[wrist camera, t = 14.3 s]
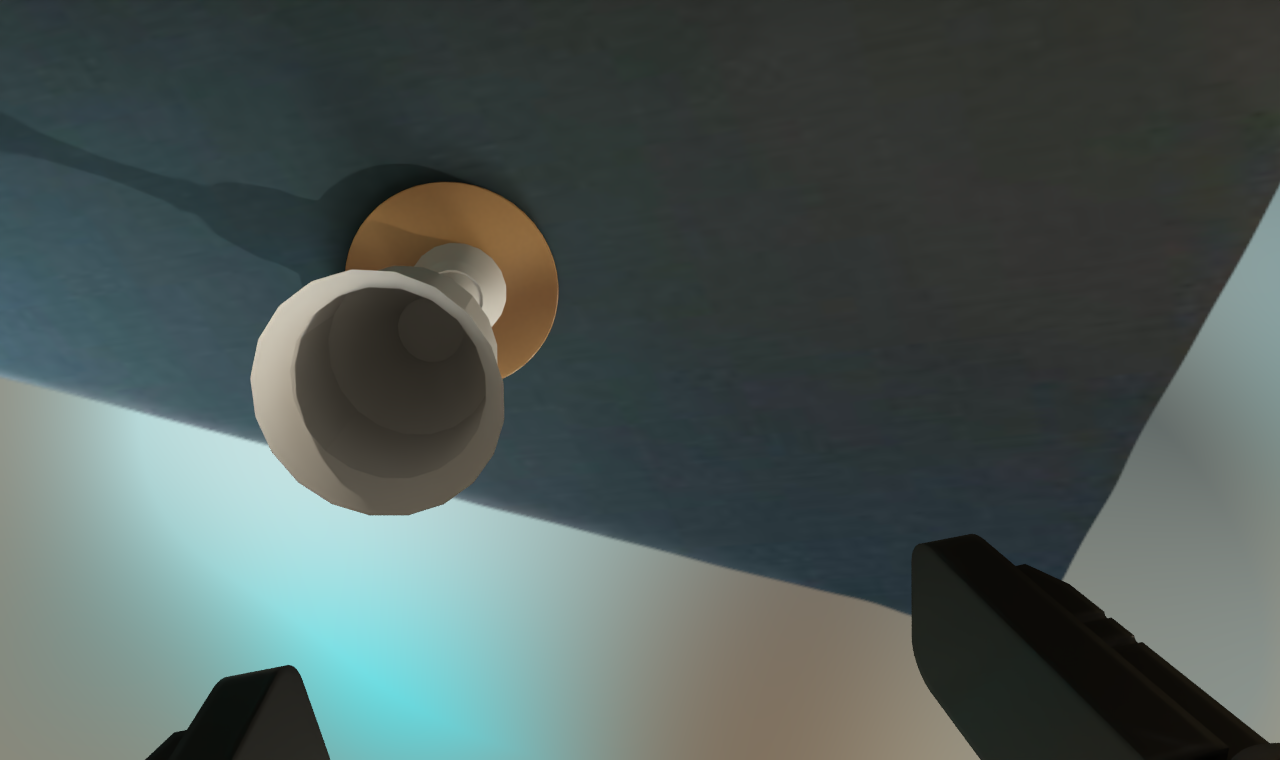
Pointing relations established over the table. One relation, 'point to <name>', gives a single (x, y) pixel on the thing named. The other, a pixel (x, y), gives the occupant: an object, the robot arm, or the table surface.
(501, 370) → the coaster
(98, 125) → the table surface
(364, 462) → the chalice
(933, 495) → the table surface
